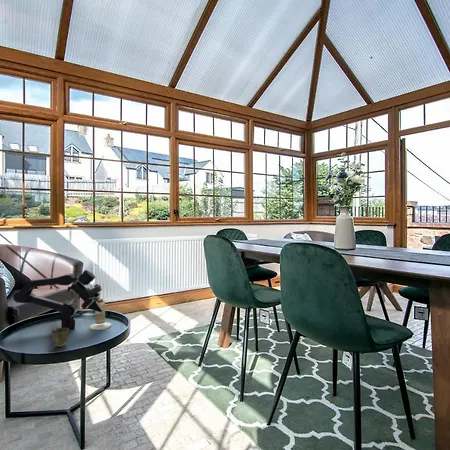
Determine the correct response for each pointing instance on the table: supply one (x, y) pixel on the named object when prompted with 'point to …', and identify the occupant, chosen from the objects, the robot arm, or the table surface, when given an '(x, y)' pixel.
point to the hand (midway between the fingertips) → (102, 310)
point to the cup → (60, 336)
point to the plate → (100, 326)
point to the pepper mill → (100, 315)
